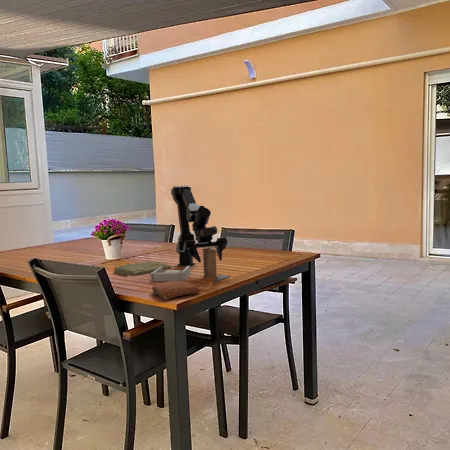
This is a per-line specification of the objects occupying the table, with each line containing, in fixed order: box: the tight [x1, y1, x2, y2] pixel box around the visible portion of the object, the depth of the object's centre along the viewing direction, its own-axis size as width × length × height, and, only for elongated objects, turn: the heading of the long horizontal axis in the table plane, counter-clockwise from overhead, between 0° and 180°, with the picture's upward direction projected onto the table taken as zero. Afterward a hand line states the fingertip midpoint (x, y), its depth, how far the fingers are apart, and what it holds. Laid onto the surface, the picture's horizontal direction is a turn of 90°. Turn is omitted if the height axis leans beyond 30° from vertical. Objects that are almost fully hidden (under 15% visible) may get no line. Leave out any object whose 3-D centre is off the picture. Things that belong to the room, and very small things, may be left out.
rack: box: [149, 265, 191, 282], centre depth 187 cm, size 15×13×4 cm
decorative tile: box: [113, 260, 172, 277], centre depth 206 cm, size 19×20×4 cm
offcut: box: [163, 269, 182, 273], centre depth 191 cm, size 5×6×2 cm
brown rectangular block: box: [202, 247, 218, 279], centre depth 185 cm, size 6×4×12 cm, turn 22°
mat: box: [211, 274, 231, 284], centre depth 186 cm, size 12×12×1 cm
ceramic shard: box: [151, 280, 201, 302], centre depth 163 cm, size 15×6×15 cm
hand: (210, 261), depth 184 cm, fingers open, 9 cm apart
